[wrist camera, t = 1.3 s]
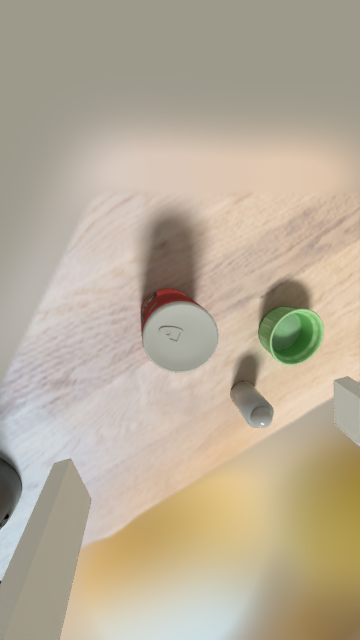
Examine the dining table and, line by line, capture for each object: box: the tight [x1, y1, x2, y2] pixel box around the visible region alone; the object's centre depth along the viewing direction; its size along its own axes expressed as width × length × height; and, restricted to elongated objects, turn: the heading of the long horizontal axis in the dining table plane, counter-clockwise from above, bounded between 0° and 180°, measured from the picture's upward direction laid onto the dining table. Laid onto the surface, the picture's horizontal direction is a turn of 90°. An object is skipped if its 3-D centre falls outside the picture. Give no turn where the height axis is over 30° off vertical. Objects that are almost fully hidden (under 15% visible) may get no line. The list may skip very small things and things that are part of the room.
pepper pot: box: [230, 381, 274, 428], centre depth 36 cm, size 4×4×8 cm
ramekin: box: [259, 307, 324, 365], centre depth 35 cm, size 9×9×4 cm
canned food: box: [141, 289, 218, 373], centre depth 28 cm, size 8×8×11 cm
